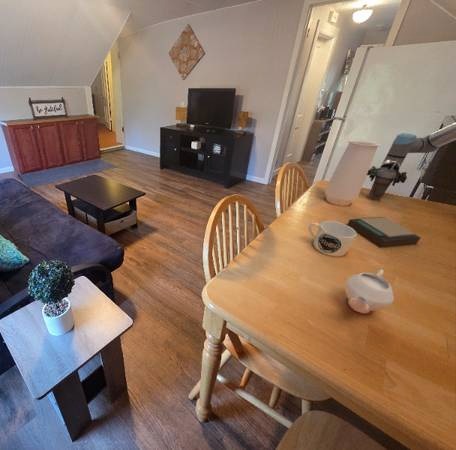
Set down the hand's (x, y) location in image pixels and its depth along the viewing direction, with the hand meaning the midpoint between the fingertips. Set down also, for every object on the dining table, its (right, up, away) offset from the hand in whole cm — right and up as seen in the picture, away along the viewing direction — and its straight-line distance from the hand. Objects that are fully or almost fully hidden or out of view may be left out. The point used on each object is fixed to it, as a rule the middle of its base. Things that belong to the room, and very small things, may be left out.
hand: (383, 180), depth 112 cm
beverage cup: (+3, -8, +9) cm, 12 cm away
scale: (-18, -24, -18) cm, 35 cm away
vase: (-16, -9, +6) cm, 20 cm away
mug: (-44, -28, -25) cm, 58 cm away
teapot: (-51, -42, -47) cm, 81 cm away
